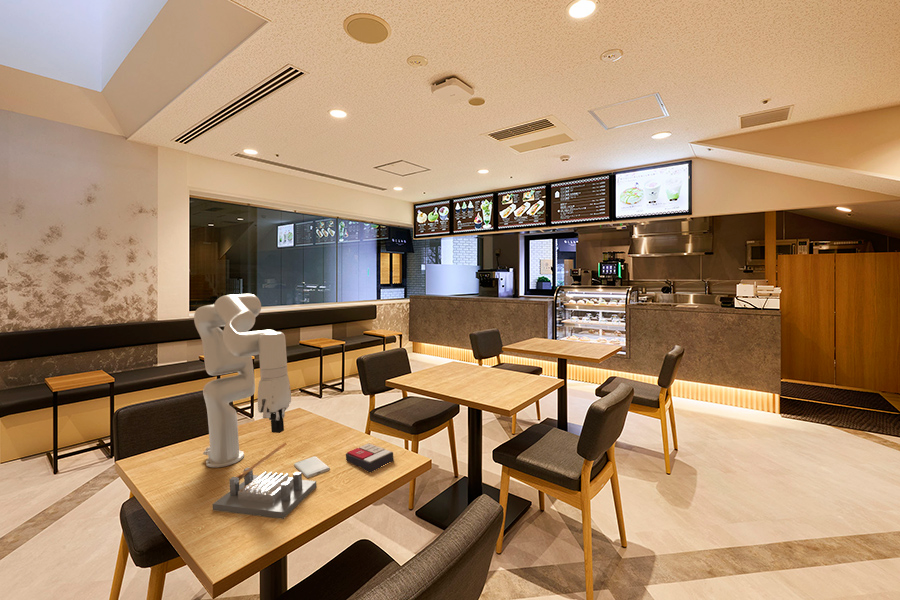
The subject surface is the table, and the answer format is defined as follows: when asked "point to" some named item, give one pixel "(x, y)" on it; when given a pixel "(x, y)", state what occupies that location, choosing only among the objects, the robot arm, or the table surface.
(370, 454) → the calculator
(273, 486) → the heat sink
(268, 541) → the table surface
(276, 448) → the retention strap
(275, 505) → the grey mounting plate
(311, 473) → the hard drive
